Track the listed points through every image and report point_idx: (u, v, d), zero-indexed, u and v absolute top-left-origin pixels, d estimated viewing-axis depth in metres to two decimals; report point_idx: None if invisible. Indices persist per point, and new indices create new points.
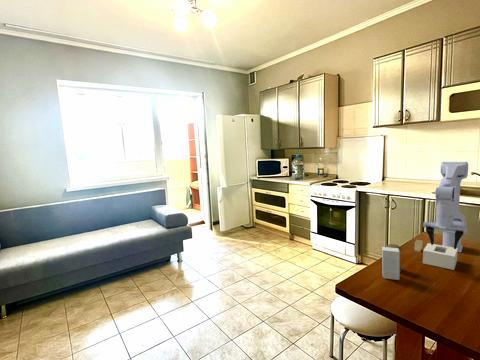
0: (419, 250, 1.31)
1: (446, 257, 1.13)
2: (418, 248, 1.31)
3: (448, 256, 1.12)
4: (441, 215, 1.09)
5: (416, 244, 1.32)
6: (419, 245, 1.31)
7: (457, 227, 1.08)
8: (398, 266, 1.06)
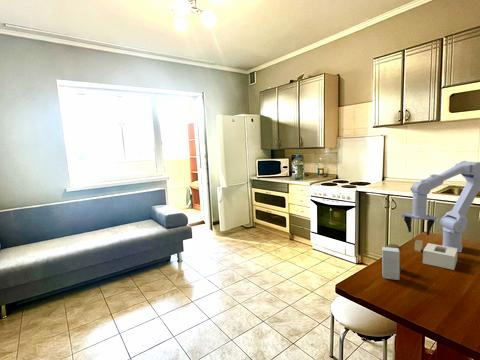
0: (419, 250, 1.31)
1: (446, 257, 1.13)
2: (418, 248, 1.31)
3: (448, 256, 1.12)
4: (413, 205, 1.31)
5: (416, 244, 1.32)
6: (419, 245, 1.31)
7: (429, 216, 1.28)
8: (398, 266, 1.06)
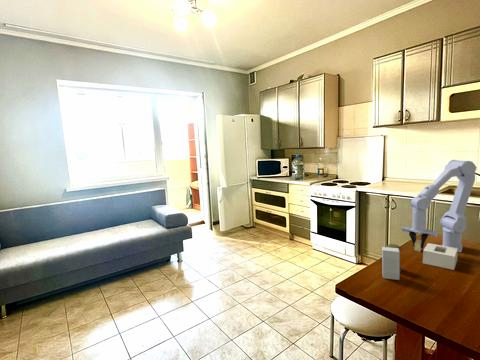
0: (419, 250, 1.31)
1: (446, 257, 1.13)
2: (418, 247, 1.31)
3: (448, 256, 1.12)
4: (412, 220, 1.32)
5: (416, 244, 1.32)
6: (419, 245, 1.31)
7: (429, 231, 1.29)
8: (398, 266, 1.06)
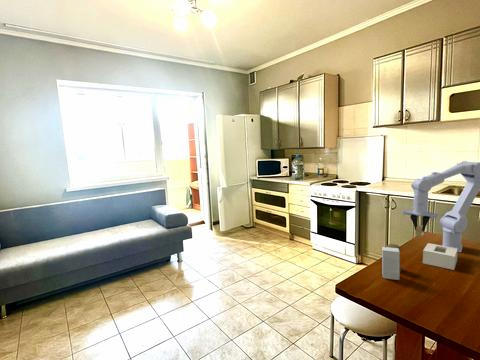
0: (420, 235, 1.30)
1: (446, 257, 1.13)
2: (420, 232, 1.30)
3: (448, 256, 1.12)
4: (414, 202, 1.30)
5: (417, 229, 1.30)
6: (421, 230, 1.29)
7: (430, 214, 1.27)
8: (398, 266, 1.06)
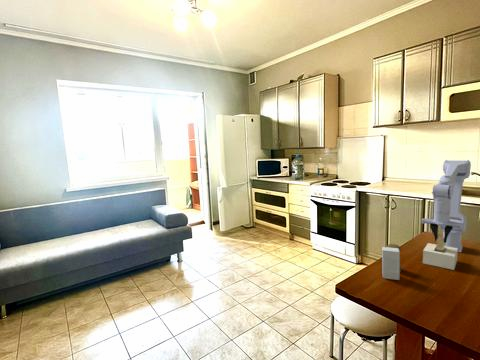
0: (442, 248, 1.16)
1: (446, 257, 1.13)
2: (441, 245, 1.16)
3: (448, 256, 1.12)
4: (438, 211, 1.15)
5: (438, 241, 1.17)
6: (442, 242, 1.16)
7: (453, 223, 1.14)
8: (398, 266, 1.06)
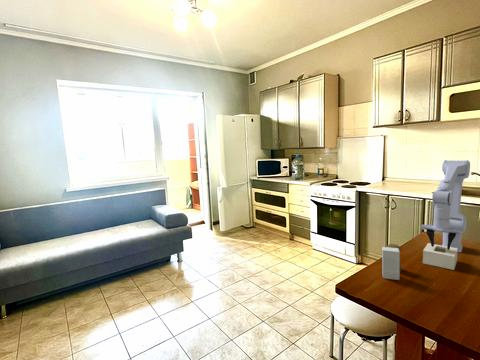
0: None
1: (446, 257, 1.13)
2: None
3: (448, 256, 1.12)
4: (437, 218, 1.16)
5: None
6: None
7: (453, 229, 1.14)
8: (398, 266, 1.06)
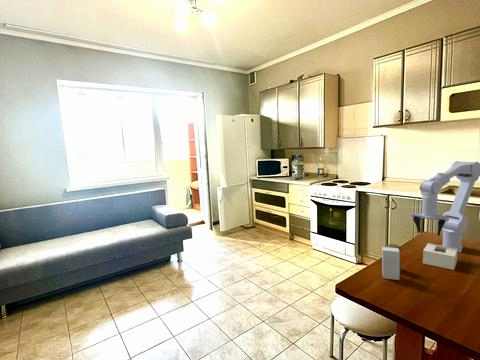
0: None
1: (446, 257, 1.13)
2: None
3: (448, 256, 1.12)
4: (423, 205, 1.25)
5: None
6: None
7: (440, 216, 1.22)
8: (398, 266, 1.06)
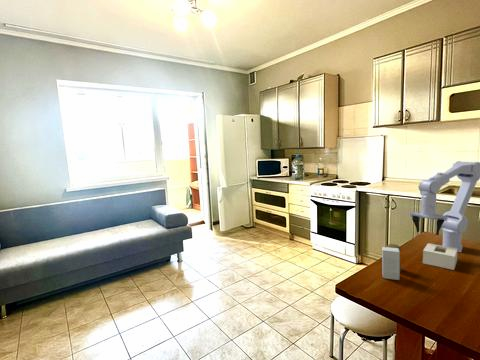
0: None
1: (446, 257, 1.13)
2: None
3: (448, 256, 1.12)
4: (422, 205, 1.25)
5: None
6: None
7: (439, 216, 1.23)
8: (398, 266, 1.06)
